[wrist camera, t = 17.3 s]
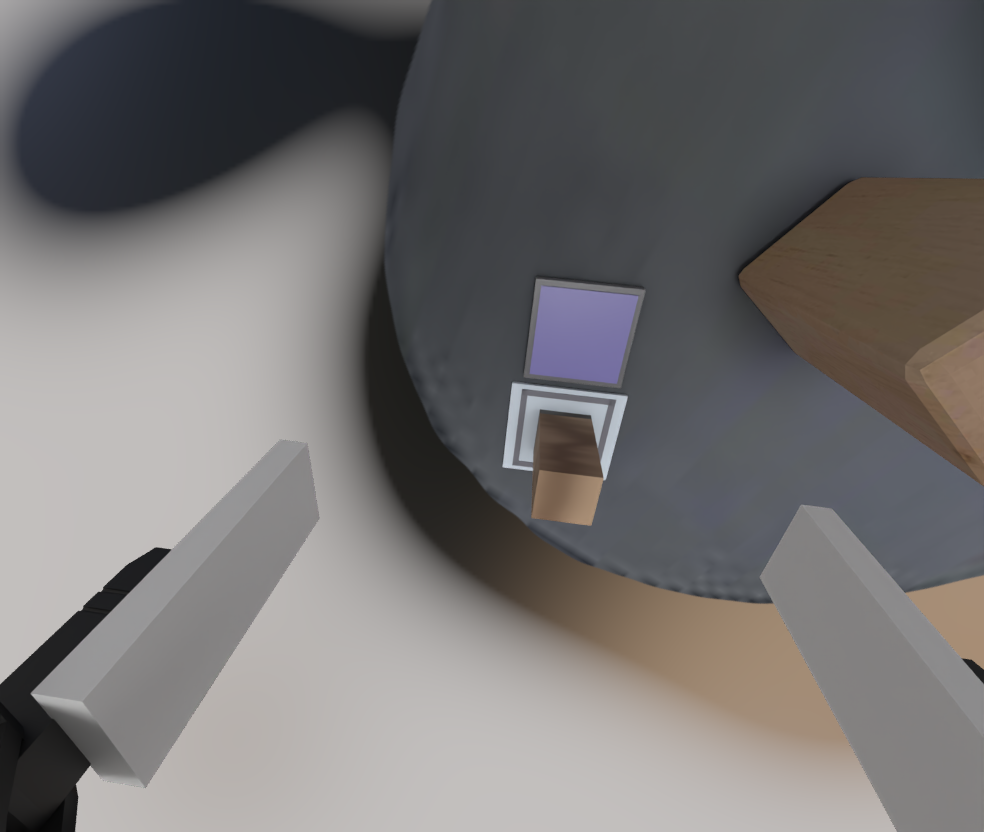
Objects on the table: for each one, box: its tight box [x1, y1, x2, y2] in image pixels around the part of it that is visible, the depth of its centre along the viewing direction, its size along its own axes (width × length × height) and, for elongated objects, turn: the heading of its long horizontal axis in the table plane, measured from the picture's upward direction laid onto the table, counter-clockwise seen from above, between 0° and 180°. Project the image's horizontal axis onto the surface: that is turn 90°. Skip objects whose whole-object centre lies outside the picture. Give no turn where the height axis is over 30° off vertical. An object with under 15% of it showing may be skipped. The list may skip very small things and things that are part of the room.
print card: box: [503, 381, 628, 480], centre depth 44 cm, size 11×10×1 cm
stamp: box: [531, 409, 604, 526], centre depth 39 cm, size 5×5×10 cm
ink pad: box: [524, 276, 646, 388], centre depth 38 cm, size 9×9×1 cm
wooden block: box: [739, 177, 984, 486], centre depth 26 cm, size 10×10×20 cm
